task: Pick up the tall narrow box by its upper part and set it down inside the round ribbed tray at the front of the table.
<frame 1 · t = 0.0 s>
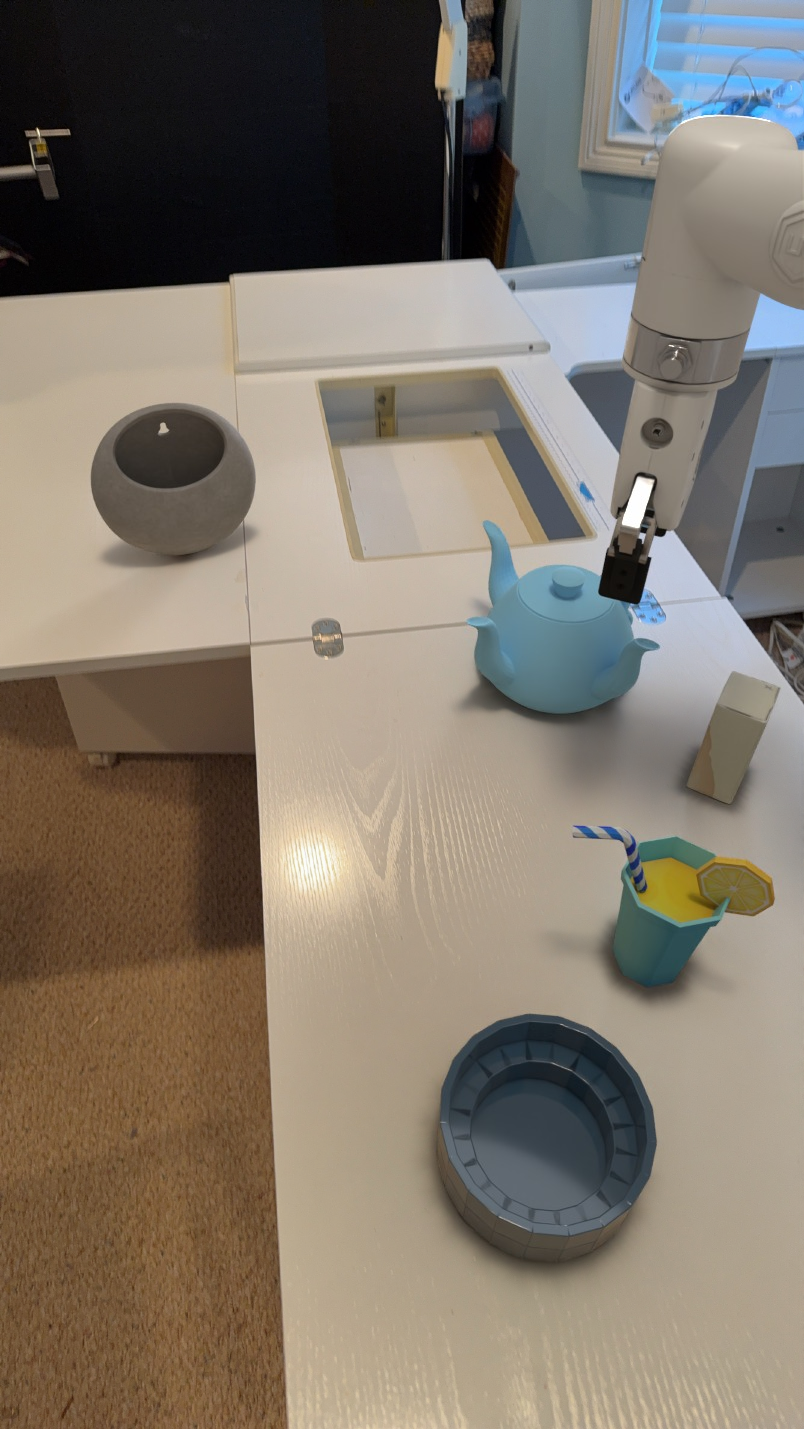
hand: (632, 563, 69), 21 cm above the table, tool pointing down, fingers open, 9 cm apart
round ribbed tray: (535, 1150, 58), on the table
planter: (189, 553, 107), on the table
box: (715, 781, 82), on the table
cup: (634, 956, 69), on the table
teapot: (542, 673, 92), on the table
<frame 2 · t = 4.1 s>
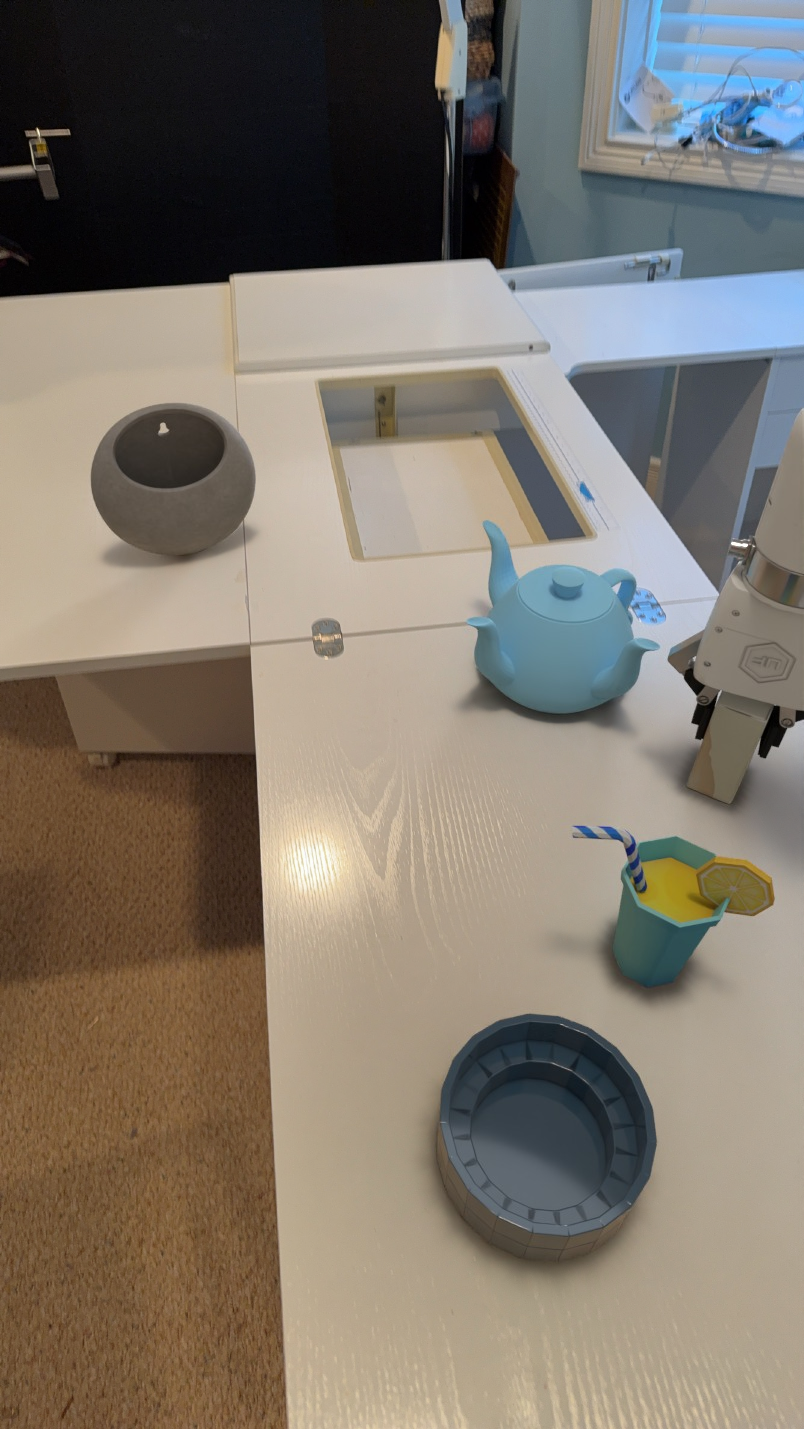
hand: (732, 736, 78), 6 cm above the table, tool pointing down, fingers closed on box, 4 cm apart
box: (715, 781, 82), on the table, touching gripper
everything else where it was.
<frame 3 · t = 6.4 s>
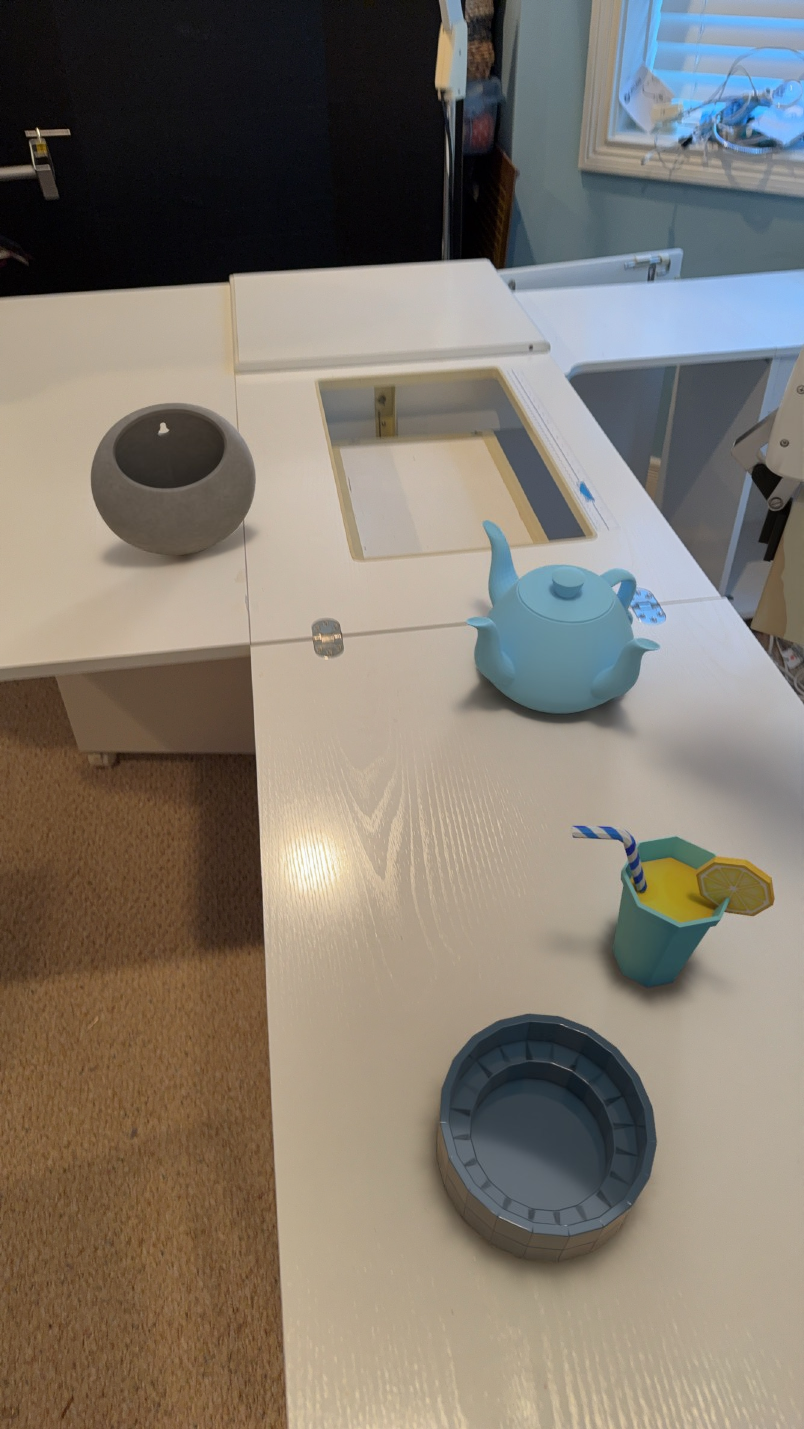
box: (784, 623, 67), point 19 cm above the table, touching gripper
everything else where it was.
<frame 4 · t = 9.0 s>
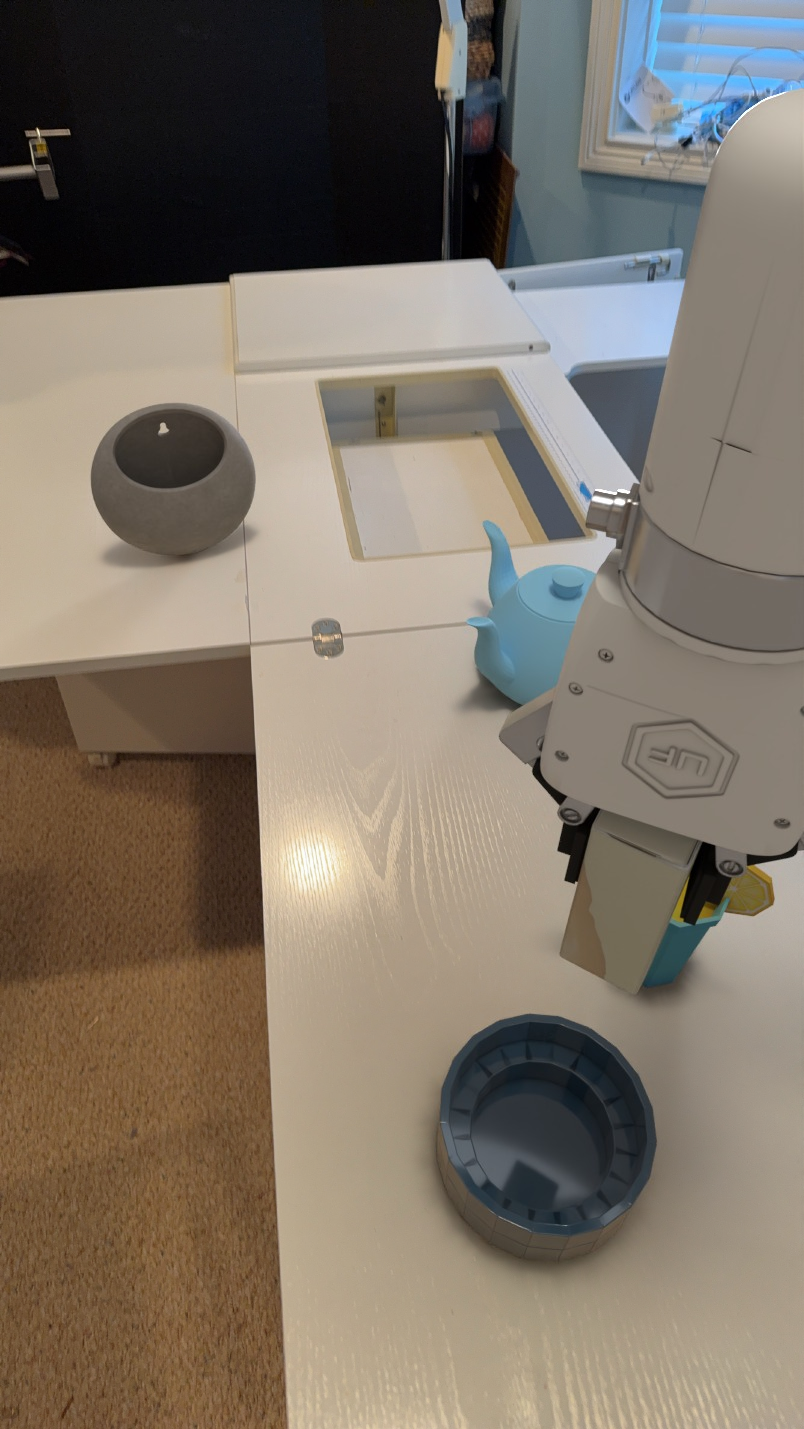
hand: (635, 877, 41), 27 cm above the table, tool pointing down, fingers closed on box, 4 cm apart
box: (613, 943, 45), point 21 cm above the table, touching gripper
everything else where it was.
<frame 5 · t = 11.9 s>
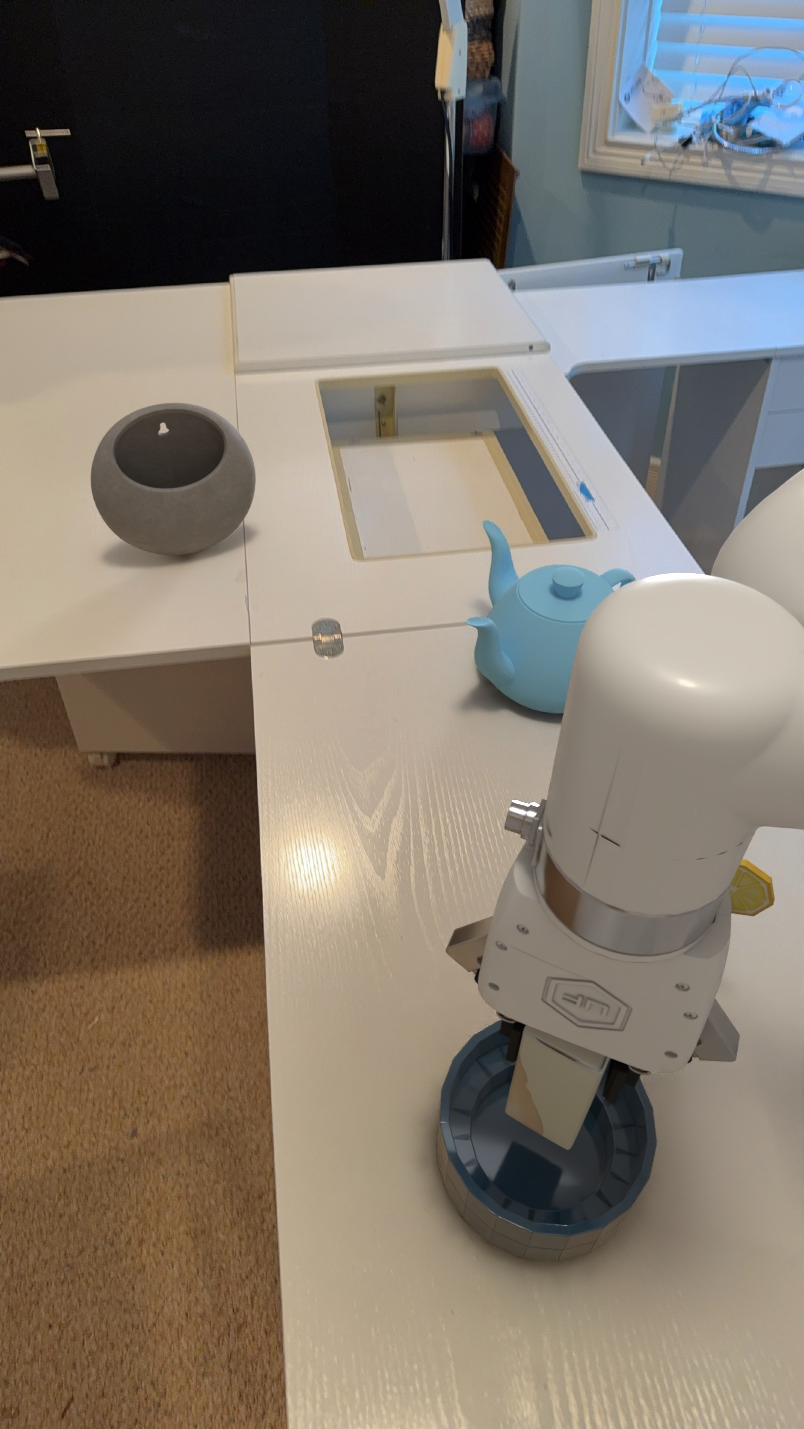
hand: (566, 1055, 48), 15 cm above the table, tool pointing down, fingers closed on box, 4 cm apart
box: (552, 1098, 52), point 9 cm above the table, touching gripper
everything else where it was.
when the fingers open (6 cm above the table, at t = 14.2 s): box stays where it is, resting on round ribbed tray.
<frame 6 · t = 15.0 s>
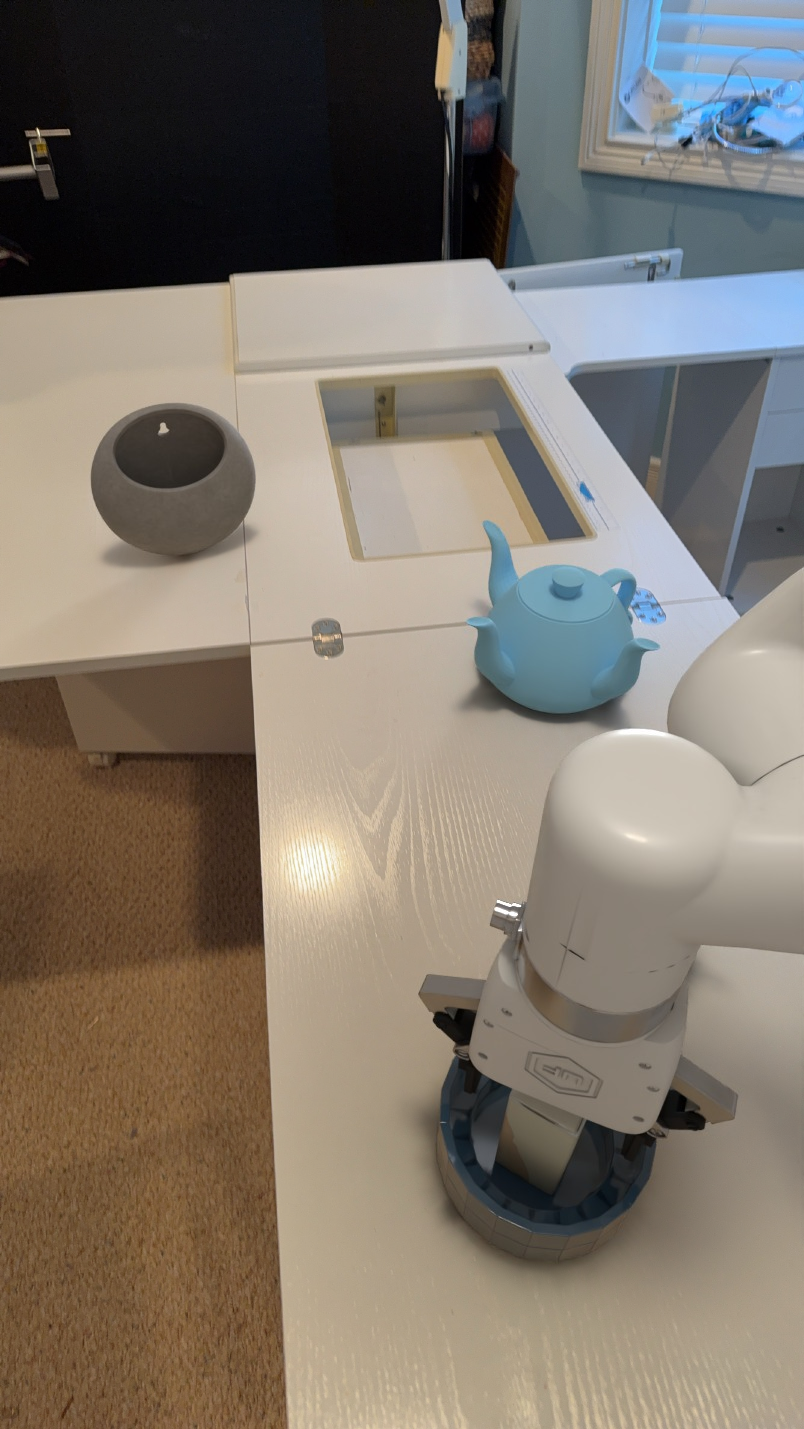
hand: (552, 1102, 53), 8 cm above the table, tool pointing down, fingers open, 9 cm apart
box: (537, 1147, 58), resting on round ribbed tray
everything else where it was.
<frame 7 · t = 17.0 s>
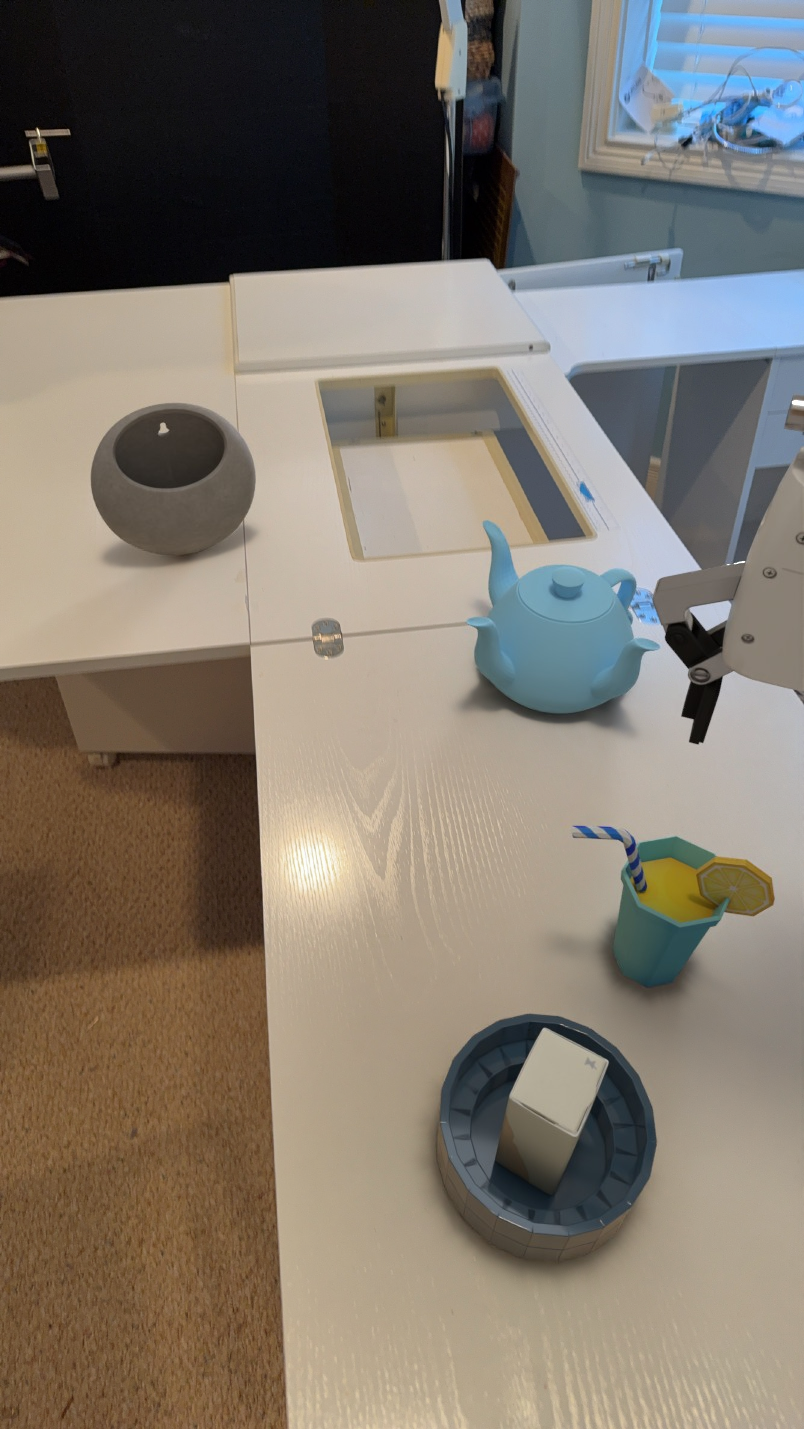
hand: (793, 749, 46), 28 cm above the table, tool pointing down, fingers open, 9 cm apart
nothing on the table moved.
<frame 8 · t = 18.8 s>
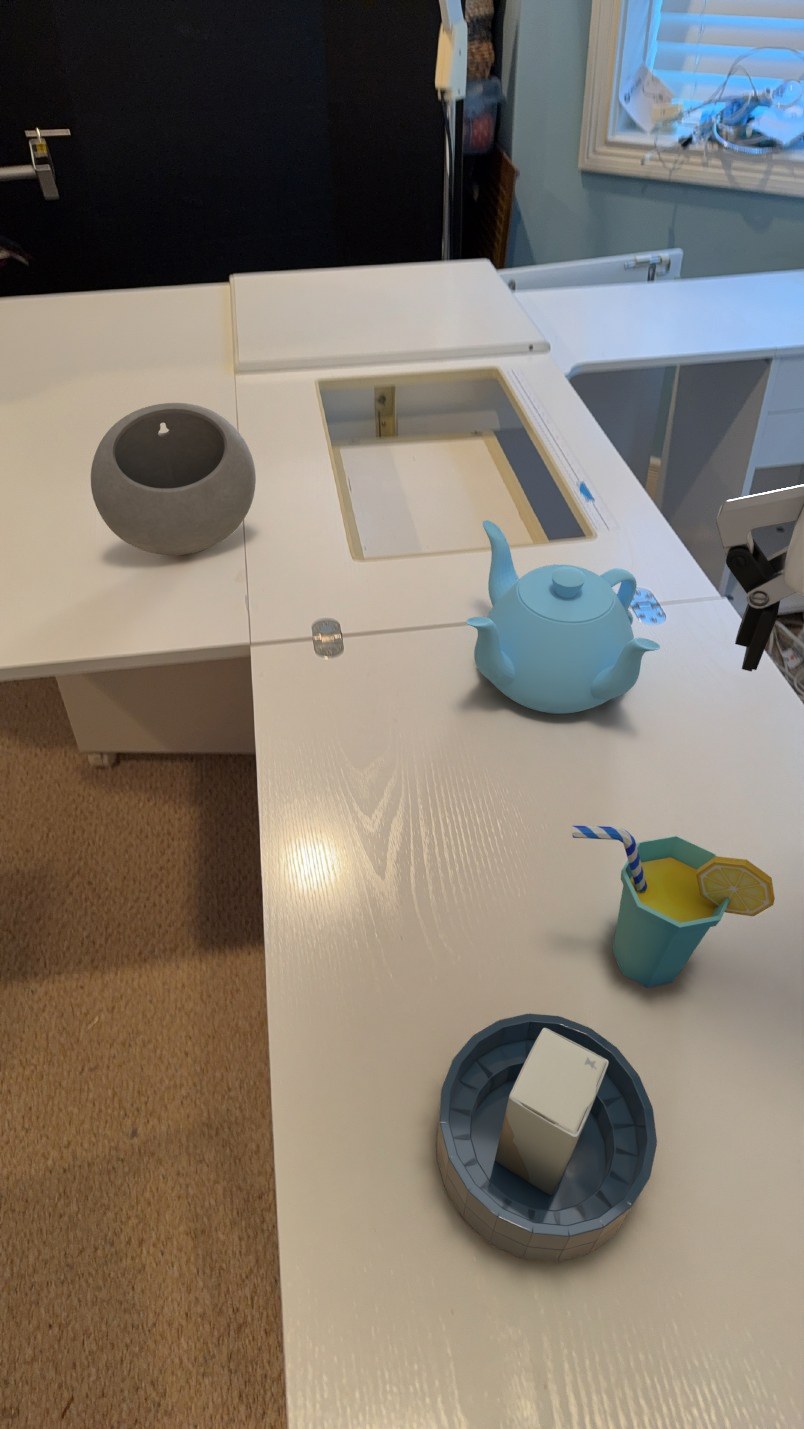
nothing on the table moved.
at the end: box inside the target area in the round ribbed tray (0.1 cm from its centre), point 0.4 cm above the round ribbed tray's base; the gripper is holding nothing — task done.
